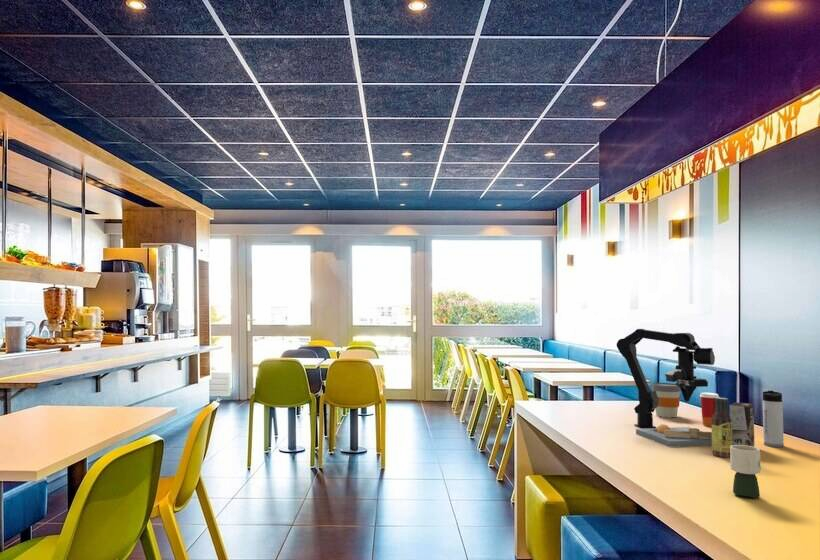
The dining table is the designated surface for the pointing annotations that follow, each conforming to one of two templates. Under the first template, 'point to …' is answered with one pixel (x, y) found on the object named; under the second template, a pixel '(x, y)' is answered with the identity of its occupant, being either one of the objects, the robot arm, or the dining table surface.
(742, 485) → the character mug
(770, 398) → the travel mug
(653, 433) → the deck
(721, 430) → the sauce bottle
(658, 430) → the ball
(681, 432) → the lever
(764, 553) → the dining table surface
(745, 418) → the coffee box
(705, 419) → the paper cup
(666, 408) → the reusable coffee cup
